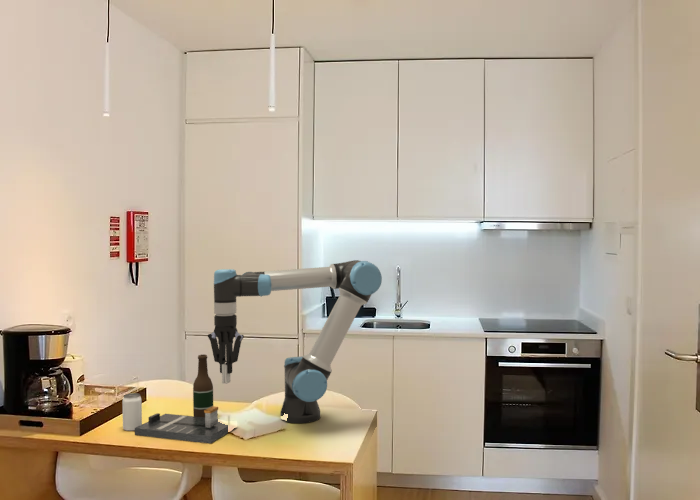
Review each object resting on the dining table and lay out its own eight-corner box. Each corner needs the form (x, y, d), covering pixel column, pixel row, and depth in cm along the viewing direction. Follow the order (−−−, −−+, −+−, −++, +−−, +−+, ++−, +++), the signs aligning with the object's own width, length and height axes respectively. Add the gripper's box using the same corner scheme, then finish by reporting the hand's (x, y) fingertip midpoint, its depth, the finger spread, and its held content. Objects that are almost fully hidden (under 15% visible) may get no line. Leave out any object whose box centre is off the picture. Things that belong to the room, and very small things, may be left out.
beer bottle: (216, 415, 239) (215, 353, 239) (210, 421, 231) (209, 357, 231) (197, 415, 240) (196, 353, 239) (189, 421, 232) (188, 357, 232)
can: (135, 431, 220) (135, 398, 220) (119, 430, 222) (118, 397, 221) (145, 426, 227) (144, 393, 226) (129, 425, 228) (128, 392, 228)
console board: (237, 427, 224) (236, 415, 224) (210, 443, 207) (210, 430, 207) (165, 420, 234) (165, 408, 234) (134, 435, 217) (134, 422, 216)
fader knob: (218, 423, 219) (218, 406, 219) (210, 427, 214) (210, 410, 214) (212, 422, 220) (212, 406, 220) (204, 427, 215) (204, 410, 215)
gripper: (247, 313, 216) (248, 381, 216) (214, 312, 220) (215, 378, 220) (237, 316, 208) (238, 386, 209) (202, 315, 213) (203, 383, 213)
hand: (226, 382), depth 215 cm, fingers closed
